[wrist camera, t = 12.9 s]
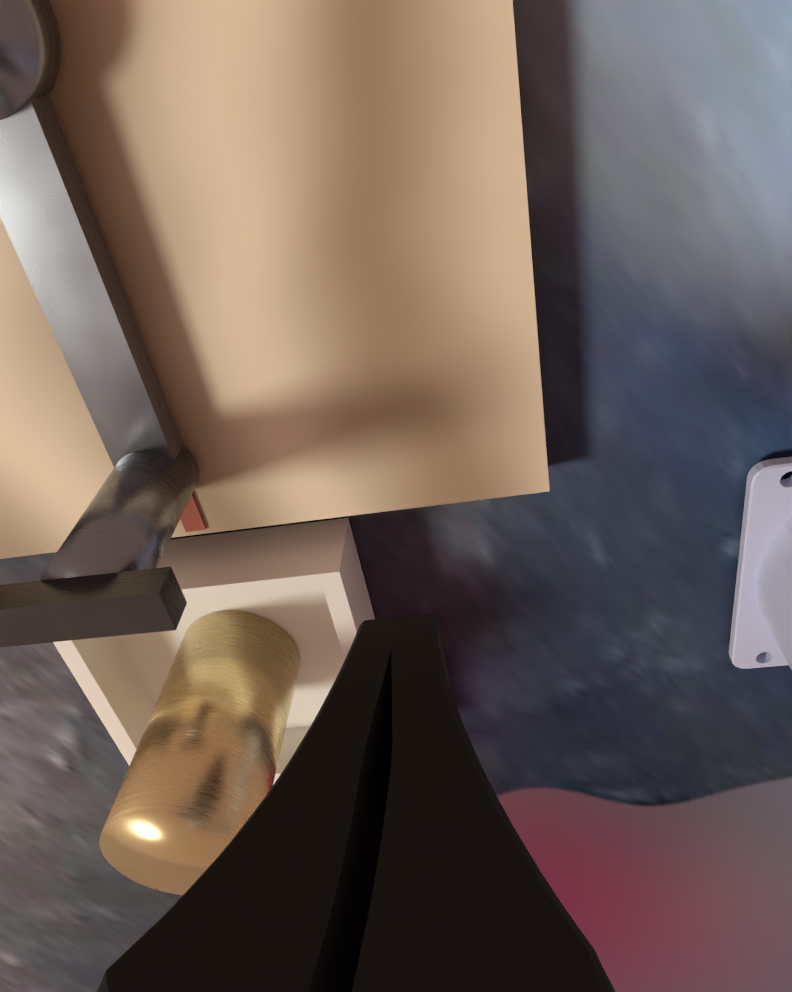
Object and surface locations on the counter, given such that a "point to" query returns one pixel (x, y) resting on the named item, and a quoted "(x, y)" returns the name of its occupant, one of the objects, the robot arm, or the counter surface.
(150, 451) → the crank
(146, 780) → the brass cylinder
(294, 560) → the tray
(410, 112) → the crank board
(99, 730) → the counter surface
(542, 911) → the robot arm
